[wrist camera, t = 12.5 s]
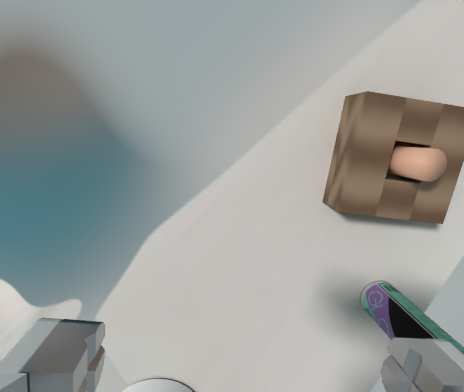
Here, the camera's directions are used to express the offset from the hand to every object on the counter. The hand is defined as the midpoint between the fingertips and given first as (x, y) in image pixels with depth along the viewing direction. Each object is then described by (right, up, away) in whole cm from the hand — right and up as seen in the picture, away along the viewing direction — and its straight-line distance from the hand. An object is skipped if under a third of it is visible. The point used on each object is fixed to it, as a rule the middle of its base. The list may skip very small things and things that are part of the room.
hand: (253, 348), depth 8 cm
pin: (+20, +9, +28) cm, 36 cm away
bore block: (+20, +9, +30) cm, 37 cm away
